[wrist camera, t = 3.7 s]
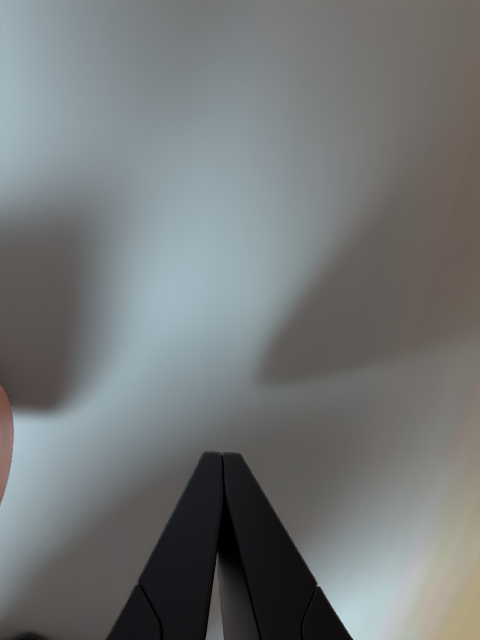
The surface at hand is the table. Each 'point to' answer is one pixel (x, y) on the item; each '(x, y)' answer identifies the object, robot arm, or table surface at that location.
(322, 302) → the table surface
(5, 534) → the table surface
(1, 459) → the red knob
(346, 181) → the table surface
